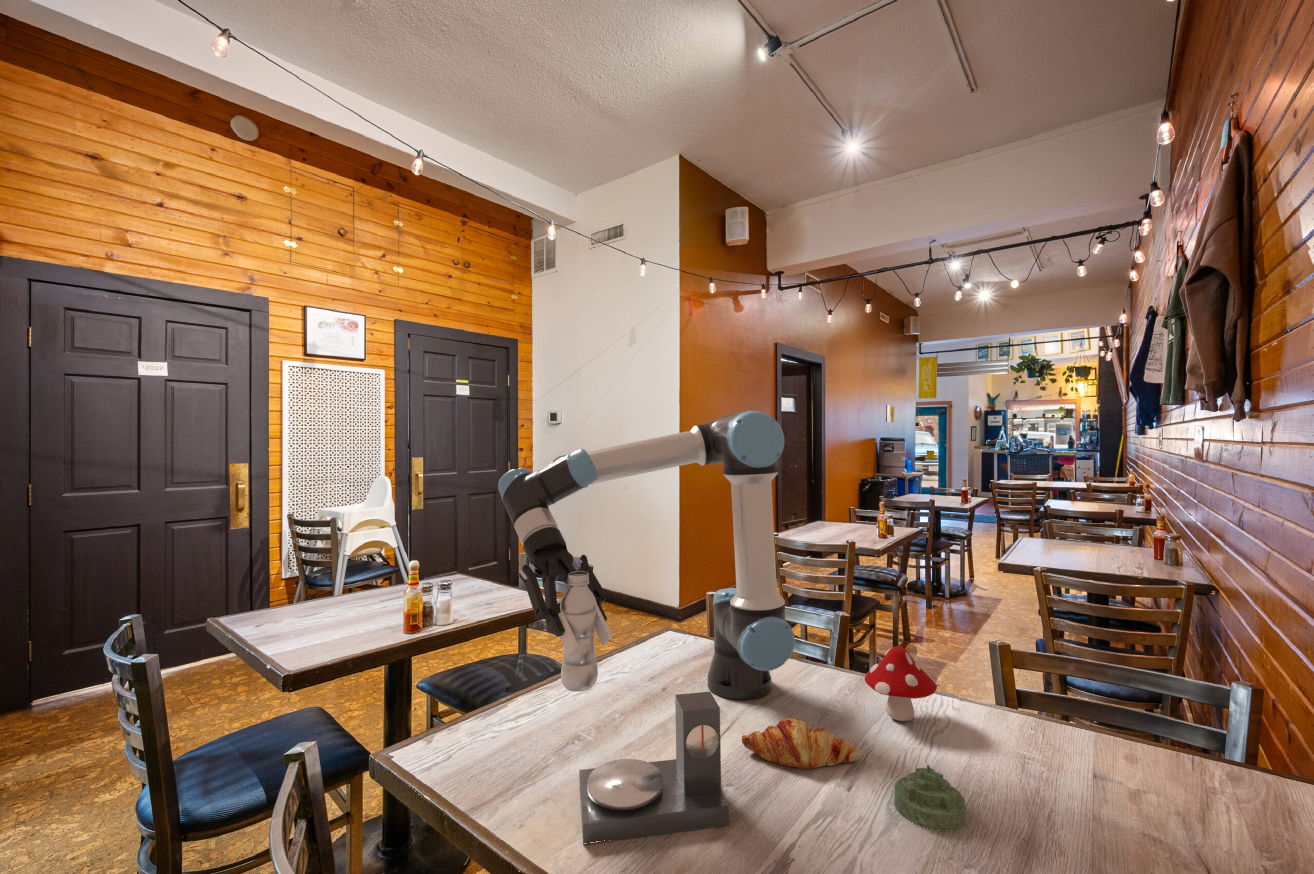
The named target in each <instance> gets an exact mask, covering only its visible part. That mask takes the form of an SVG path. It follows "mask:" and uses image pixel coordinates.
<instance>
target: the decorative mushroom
mask: <svg viewBox="0 0 1314 874" xmlns="http://www.w3.org/2000/svg"><path fill="white" fill-rule="evenodd" d="M864 682H865V683H866V684H867V686H869V687H870V688H871V689H872V690H873V691H875V692H876V693H878V694H880V695H882V696H883V695H885V696H888V698H887V702H886V704H885V705H886V706H885V711H886V715H888V716H889V717H890V718H891V719H893V720H894V721H899V722H908V721H911V720H912V719H914V718H915V708H914V706H913V705H914V704H913V702H912V700H913V699H924V698H927V697H930V696H932V695H933V694H934V693H936V692H937V688H938V685H937V683H936V681H935V679H933V677H932V676H930V675H929V674H927V673H926V672H925V671H924V669H922V668H921V667H920V665H919V664H918V663H917V662H916V661H915V660H914V658H913V657H912V655H911V654H910V653H909V652H908V650H906V648H904V647H901V646H894V647H890V648H888V649H887V650H886V651H885V654H884V657H882V659H881V660H879V661H878V662H877V663H875V664H874V665H873V666H872V667H871V668H870V669H869V670H868V671H867V672H866V673H865V675H864Z"/></svg>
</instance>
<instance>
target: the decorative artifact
mask: <svg viewBox="0 0 1314 874" xmlns="http://www.w3.org/2000/svg"><path fill="white" fill-rule="evenodd" d="M894 806H895V809H896V810H897V812H898V813H899V814H900V815H901V816H902V817H903V818H904V817H905V818H904V819H906V820H907V819H908V820H909V822H910V821H911V822H910V823H912V822H913V823H912V824H913V825H916V826H918V825H919V826H918V827H920V826H921V828H923V827H925V828H924V829H926V828H928V829H927V830H930V829H933V830H932V831H935V830H940V831H939V832H951V831H950V830H953V831H957V830H959V829H961V828H962V827H964V825H965V822H966V800H965V798H964V796H963V795H962V793H961V792H960V791H959V790H958V789H956V788H955V787H953V786H952V785H951V784H950V782H949V781H948V780H947V779H945V778H944V774H942V773H941V772H937V771H935V769H933V768H931V766H930V765H929V764H927V765H926V767H918V768H917V767H916V768H915V772H910V773H909V774H908V775H907V776H904V777H901V778H900V779H898V780H897V781H896V782H895V784H894ZM908 820H907V821H908ZM946 830H947V831H946Z"/></svg>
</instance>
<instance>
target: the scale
mask: <svg viewBox="0 0 1314 874" xmlns="http://www.w3.org/2000/svg"><path fill="white" fill-rule="evenodd" d="M711 692H712V691H701V692H691V693H681V694H674V695H675V696H674V697H675V699H674V701H675V752H676V753H675V757H676V758H675V759H666V760H665V759H664V760H657V761H647V762H648V763H650V764H652V765H654V766H655V767H657V768H658V769H659V771H660V772H661V774H662V778H663V788H662V791H661V793H660V795H659V796H658V797H657V798H656V799H655V800H654V801H653V802H651V803H649V804H647V805H645V806H643V807H640V808H636V809H630V810H614V809H608V808H605V807H602V806H600V805H598V804H596V803H595V802H594V801H593V800H592V799H591V798H590V797H589V795H588V791H587V780H588V777H589V775H590V774H591V772H592V771H593V770H594V769H596V768H597V767H595V768H585V769H578V770H579V773H578V775H579V776H578V778H579V780H578V781H579V783H578V784H579V785H578V786H579V798H580V814H581V816H580V817H581V833H582V834H583V835H582V845H583V844H584V843H590V842H596V841H604V840H605V841H609V840H616V841H622V839H623V840H629V839H631V840H632V839H637V838H638V839H639V838H643V837H651V836H658V835H659V836H660V835H666V834H675V833H682V832H688V831H697V830H703V829H713V828H719V827H726V826H729V825H730V814H729V813H730V812H729V810H730V809H729V804H728V801H727V799H726V797H725V795H724V793H723V790H722V764H721V762H722V760H721V758H722V755H721V754H722V752H721V749H722V748H721V707H720V705H719V704H718V702H717V700H716V699H715V697H714V696H713V694H712V693H711ZM609 842H610V841H609Z"/></svg>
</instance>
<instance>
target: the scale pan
mask: <svg viewBox="0 0 1314 874" xmlns="http://www.w3.org/2000/svg"><path fill="white" fill-rule="evenodd" d="M648 762H649V761H646V760H642V759H637V758H620V759H614V760H610V761H607V762H605V763H602V764H600V765H599V766H597V767H595V768H596V769H594V770H593V771H592V772H591V774H590V775H589V777H588V780H587V791H588V795H589V797H590V798H591V799H592V800H593V801H594V802H595V803H596V804H598V805H600V806H602V807H605V808H608V809H614V810H630V809H636V808H640V807H643V806H645V805H647V804H649V803H651V802H653V801H654V800H655V799H656V798H657V797H658V796H659V795H660V793H661V791H662V788H663V778H662V774H661V772H660V771H659V769H658V768H657V767H655V766H654V765H652V764H650V763H648Z"/></svg>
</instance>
